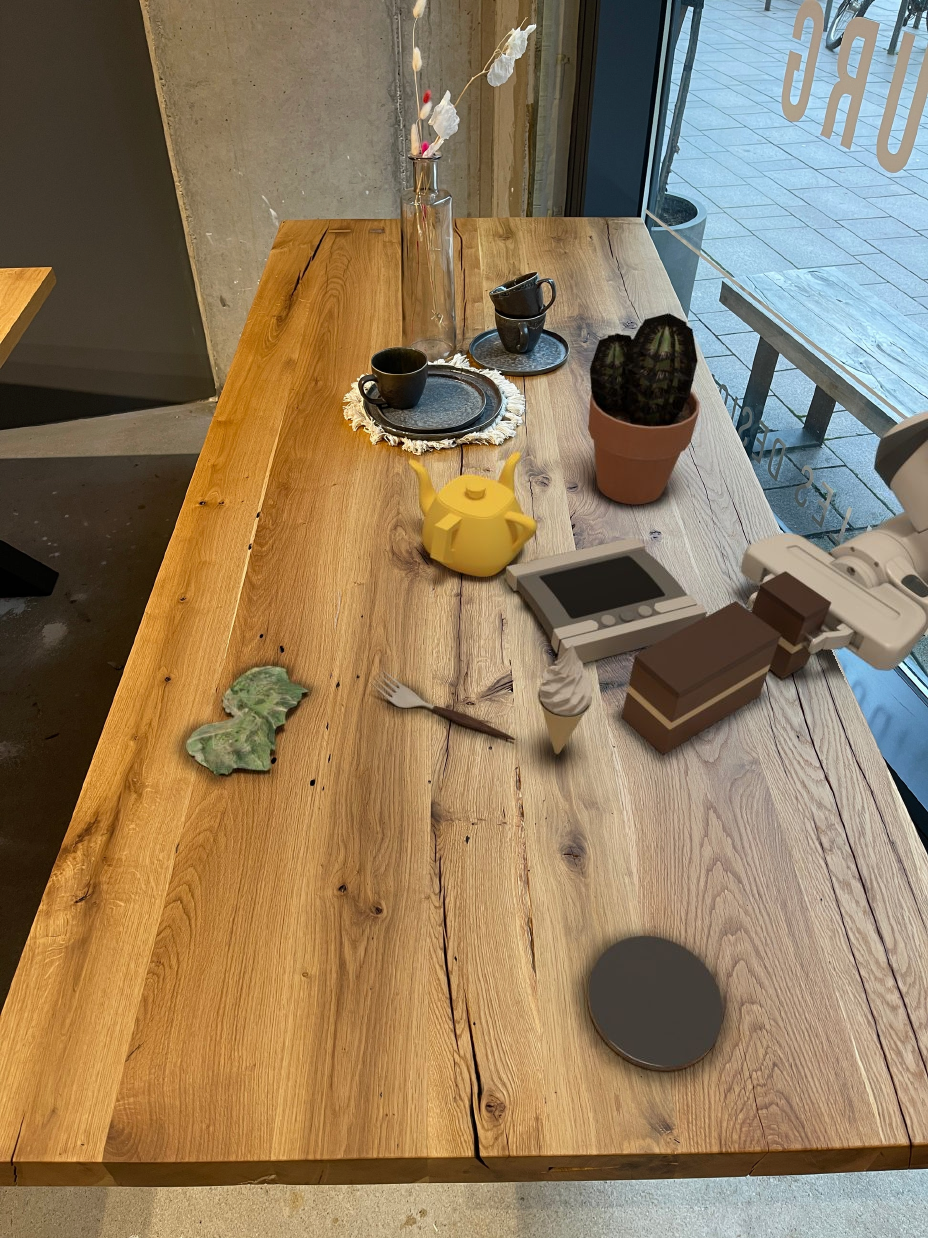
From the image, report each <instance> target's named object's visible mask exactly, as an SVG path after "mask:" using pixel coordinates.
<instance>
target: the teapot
mask: <svg viewBox="0 0 928 1238" xmlns="http://www.w3.org/2000/svg"><path fill="white" fill-rule="evenodd" d="M520 458H521V452H520V451H515V452H513V453H512V454H511V455H509V457H508V458H507V459H506V461H505V463H504V466H503V467H502V470H501V473H500V475H499V477H498V480H497V481H496V480H493V479H491V478H489V477H484V476H481V475H476V474H461V475H459V476H456V477H455V478H453V479H451V480H450V481H449V482H448V483H447V484H445V485H444V486H443V487H442V488H441V489H440V490H439V491H438V493H437V492H436V490H435V487H434V485H433V481H432V479H431V476H430V474H429V472H428V471H427V470H428V469H426V468H425V466H423V464H422V463H420V462H418V461H417V460H415V459H414V460H413V459H409V460H408V463H409V466H410V467H411V468H412V470H413V471H414V473H415V475H416V477H417V482H418V505H419V508H420V511H421V513H422V515H423V517H424V520H423V525H422V531H421V542H422V545H423V546H424V548H425V550H426V552H428V554H429V556H430V558H431V559H433V560H436V561H437V562H438V563H440V564H442V566H444V567H446V568H448V569H450V570H452V571H455V572H458V573H461V574H465V575H468V576H473V577H481V578H485V577H491V576H494V575H496V574H498V573H499V572H502V570H503V569H504V568H506V567H507V566H509V564H510V563H511V562H512V561H513V560H515V558H516V557H517V556H518V554H519V553H520V552H521V551H522V549H523V547H524V546H525V544H527V542H529V541H530V540H531V539H532V538H533V537H534V536H535V534H536V532H537V529H538V524H537V522H536V521H535V520H534V518H533V517H531V516H529V515H526V514H524V512H523V510H522V507H521V505H520V503H519V501H518V498H517V497H516V493H515V491H516V490H515V472H516V471H515V470H516V468H517V465H518V462H519V461H520Z"/></svg>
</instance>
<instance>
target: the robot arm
mask: <svg viewBox="0 0 928 1238" xmlns="http://www.w3.org/2000/svg"><path fill="white" fill-rule="evenodd" d="M877 445H878V446H877V448H876V452H875V458H874V465H873V469H874V471H875V472H876V473H877V475H878V476H879V477H880V479H881V480H882V481H883V483H884V484H885V485H886V487H887V488H888V489H889V490H890V492H892V493H893V495H894V497H895V498H896V500H897V502H898V503H899V505H900V506H901V508H902V512H900V513H898V514H895V515H894V516H891V517H889V518H887V519H885V520H884V521H882V522H880V523H879V524H878V525H877V526H876V527H874V529H873V530H872V529H871V530H867V531H863V532H861V533H859V534H858V535H855V536H853V537H852V538H850V539H848V540H847V541H844V542H843V543H841V544H839V545H837V546H835V547H833V548H832V549H830V550H829V551H826V550H825V549H823V548H821V547H820V546H818V545H816V544H814V543H812V542H811V541H810V540H809V539H807V538H806V537H805V536H802V535H801V534H800V535H799V534H796V533H791V532H782V533H778V534H775V535H771V536H768V537H765V538H763V539H760V540H757V541H755V542H753V543H751V544H749V545H748V546H747V547H746V549H745V550H744V553H743V556H742V560H741V565H740V566H741V567H740V572H741V574H742V575H743V576H744V577H746V578H747V579H749V581H751V582H752V583H754V584H756V585H757V586H759V587H760V584H762V583H764V582H766V581H768V580H770V579H772V578H773V577H775V576H777V575H779V574H781V573H783V572H785V571H786V572H788V573H789V574H791V575H792V576H794V577H795V578H797V579H798V580H799V581H801V582H802V583H804V584H805V585H807V586H808V587H810V588H811V589H813V590H814V591H815V592H817V593H818V594H820V595H821V596H823V597H824V598H826V599H827V600H829V601H830V602H831V605H830V608H829V610H828V613H827V615H826V618H825V620H824V623H823V625H822V628H821V630H820V631H818V630H817V629H815V630H813V631H811V633H808V634H807V635H806V636H805V637H804V639H803V642H802V644H801V646H802V647H803V648H805V649H806V650H807V651H809V652H810V653H811V655H814V654H817V652H819V651H821V650H842V649H844V648H845V649H846V650H847V651H850V652H851V653H852V654H854V656H856V657H858V658H859V659H860V660H862V661H863V662H865V663H866V664H868V665H869V666H870V667H872V668H873V669H874V670H876V671H882V672H883V671H884V672H885V671H886V672H889V671H891V670H893V669H895V668H896V667H898V666H899V665H900V664H901V663H903V662H904V661H905V660H906V659H907V658H908V657H909V656H910V654H911V653H912V652H913V649H914V647H915V645H916V644H918V643H919V642H920V641H921V640H922V638H923V637H924V635H925V633H926V632H927V631H928V410H925V411H921V412H919V413H916V414H914V415H912V416H910V417H907V418H906V419H903V420H902V421H900V422H899V423H897V424H896V425H894V426H893V427H892V428H891V429H889V430H888V431H887V432H886V433H885V434H884V436H883V437H882V438H880V439H879V443H878V444H877ZM757 593H758V591H755V592H754V593H752V594H751V595H750V596H749V598H748V600H747V604H746V607H747V608H749V609H750V610H752V608H753V605H754V602H755V599H756V596H757Z"/></svg>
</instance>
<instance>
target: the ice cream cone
mask: <svg viewBox="0 0 928 1238" xmlns="http://www.w3.org/2000/svg"><path fill="white" fill-rule="evenodd" d="M554 664H555V665H551V666H549V667H548V669H549V670H550V673H546V672H544V673H542V675H541V676H542V680H543V681H544V682H541V683H540V684H539V686H538V691H537V700H538V703H539V705H540V706H541V710H542V713H543V717H544V721H545V725H546V727H547V730H548V735H549V738H550V741H551V744H552V748H553V751H554V754H555V755H560V752H561V751H562V750H563V748H564V746H565V745H566V744H567V742H568V740H569V739H570V737H571V736H572V734H573V733H574V731H575V730H576V728H577V726H578V724H580V721H581V720H582V719H583V716H584V715H585V714H586V713H587V712H588V711H589V709H590V708H591V707H592V703H593V679H592V678H591V677H590V675H589V673H588V672H587V671H586V669H584V663H582V662H581V661H580V660H579V659H578V657H577V654H576V652H575V650H574V647H573V645H571V647H570V648H569V649H568V650H567V651H566V653H565V654H564V655H563V656H562V658H561V659H560V660H558V661H557V660H556V661H554Z"/></svg>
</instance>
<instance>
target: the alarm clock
mask: <svg viewBox="0 0 928 1238" xmlns="http://www.w3.org/2000/svg"><path fill="white" fill-rule="evenodd" d="M505 578H506V579H505V580H506V581H505V582H506V583H507V584H508V585H509V586H510V588H511V589H512V590H513V592H516V591H518V592H519V593H520V595H522V597H523V598H524V599H525V601H526V603H528V605H529V606H530V608H531V609H532V611H533V612H534V614H535V615H536V616H537V619H538V620H539V622H540V624H541V625H542V627H543V629H544V630H545V632H546V634H547V635H548V637H549V639H550V640H551V643H550V645H551V647H552V648H553V650H554V652H555V654H558V655H557V660H556V661H558V660H560V659H561V658H562V656H563V655H564V654H565V653H566V651H567V650H568V649H569V648H570V647H571V645H573V647H574V650H575V652H576V654H577V657H578V659H579V660H580V661H581V662H582V663H583V664H587V663H591V662H593V661H598V660H601V659H605V658H608V657H612V656H616V655H620V654H624V653H627V652H631V651H635V650H639V649H643V648H646V647H651V646H652V645H654V644H656V643H658V642H660V641H662V640H664V639H666V638H667V637H669V636H671V635H673V634H675V633H677V632H679V631H680V630H682V629H684V628H686V627H688V626H690V625H692V624H694V623H695V622H697V621H699V620H701V619H703V618H705V617H707V614H708V610H707V609H706V608H705V606H704V604H702V603H699V604H698V603H697V602H696V601H695V599H694V597H692V595H691V594H688V593H687V592H686V590H685V589H684V588H683V587H682V586H681V585H680V583H679V582H678V581H677V579H676V578H675V577H674V576H673V575H672V574H671V573H670V572H669V571H668V569H667V568H666V567H664V565H662V564H661V562H659V561H658V560H657V559H656V558H655V557H654V556H653V555H651V554H650V553H649V552H648V551H646V545H645V544H644V542H642V541H640V540H639V539H638V538H636V537H635V536H634V537H630V538H626V539H622V540H616V541H613V542H606V543H601V544H596V545H593V546H588V547H584V548H580V549H575V550H570V551H566V552H561V553H558V554H554V555H548V556H544V557H540V558H535V559H531V560H529V561H525V562H521V563H517V564H512V565H507V566H506V567H505Z"/></svg>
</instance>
